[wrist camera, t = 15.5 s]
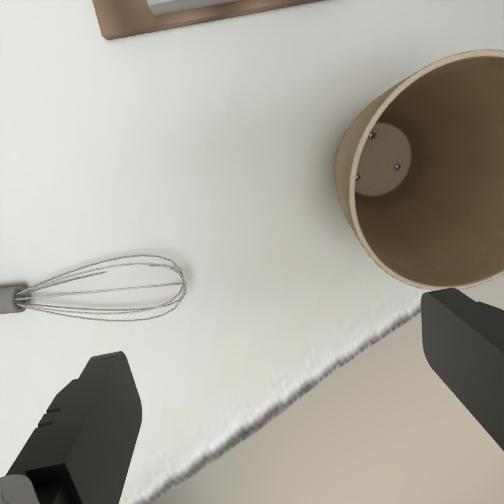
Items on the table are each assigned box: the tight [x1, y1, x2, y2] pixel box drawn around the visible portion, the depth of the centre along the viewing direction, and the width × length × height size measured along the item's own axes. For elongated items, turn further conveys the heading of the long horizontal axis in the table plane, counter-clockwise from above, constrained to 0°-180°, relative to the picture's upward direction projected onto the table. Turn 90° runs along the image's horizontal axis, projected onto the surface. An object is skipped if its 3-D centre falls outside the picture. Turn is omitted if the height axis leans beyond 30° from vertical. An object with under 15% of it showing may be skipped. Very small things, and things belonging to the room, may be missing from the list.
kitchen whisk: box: [0, 255, 186, 322], centre depth 38 cm, size 6×34×6 cm, turn 96°
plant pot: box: [335, 50, 504, 290], centre depth 31 cm, size 15×15×16 cm
